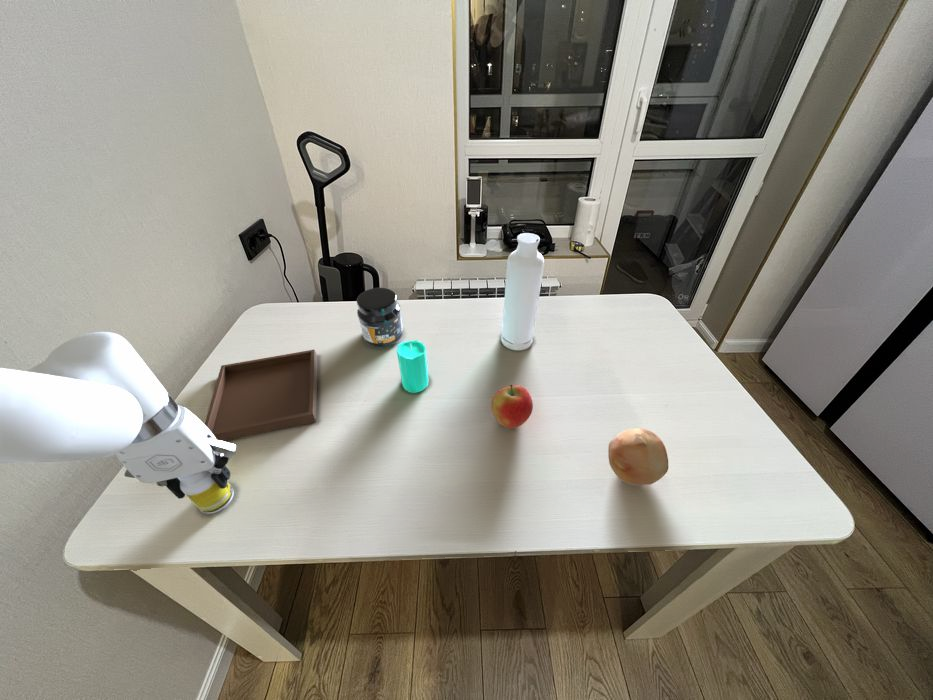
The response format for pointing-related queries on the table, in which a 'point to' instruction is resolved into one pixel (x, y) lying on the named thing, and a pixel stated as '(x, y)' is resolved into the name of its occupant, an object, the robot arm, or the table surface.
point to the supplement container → (379, 317)
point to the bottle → (522, 292)
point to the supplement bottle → (206, 492)
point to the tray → (264, 395)
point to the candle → (413, 365)
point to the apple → (512, 406)
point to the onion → (638, 456)
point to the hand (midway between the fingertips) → (204, 484)
